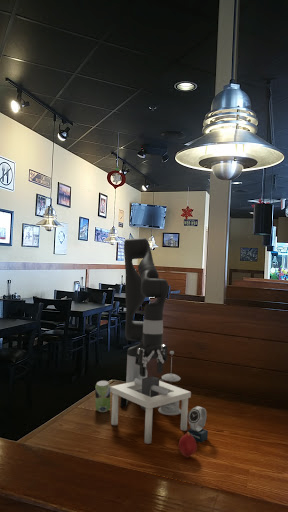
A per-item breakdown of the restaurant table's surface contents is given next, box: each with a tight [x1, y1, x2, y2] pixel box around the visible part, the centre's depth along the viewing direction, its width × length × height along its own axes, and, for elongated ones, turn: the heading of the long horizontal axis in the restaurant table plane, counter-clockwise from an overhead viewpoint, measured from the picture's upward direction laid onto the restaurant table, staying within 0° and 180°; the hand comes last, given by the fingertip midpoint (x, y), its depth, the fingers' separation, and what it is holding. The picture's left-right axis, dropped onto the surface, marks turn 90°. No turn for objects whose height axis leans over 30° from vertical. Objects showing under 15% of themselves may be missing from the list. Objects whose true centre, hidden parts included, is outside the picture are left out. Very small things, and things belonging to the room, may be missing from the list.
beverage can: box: [94, 380, 111, 413], centre depth 165 cm, size 6×7×12 cm
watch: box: [187, 405, 209, 444], centre depth 142 cm, size 6×8×11 cm
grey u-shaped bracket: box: [140, 376, 160, 411], centre depth 151 cm, size 6×4×11 cm, turn 132°
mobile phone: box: [119, 396, 130, 408], centre depth 177 cm, size 5×3×15 cm
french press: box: [157, 350, 181, 416], centre depth 169 cm, size 10×12×25 cm
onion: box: [178, 431, 198, 458], centre depth 128 cm, size 6×6×8 cm
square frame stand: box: [110, 378, 192, 445], centre depth 151 cm, size 21×22×16 cm
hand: (151, 374), depth 151 cm, fingers open, 8 cm apart
